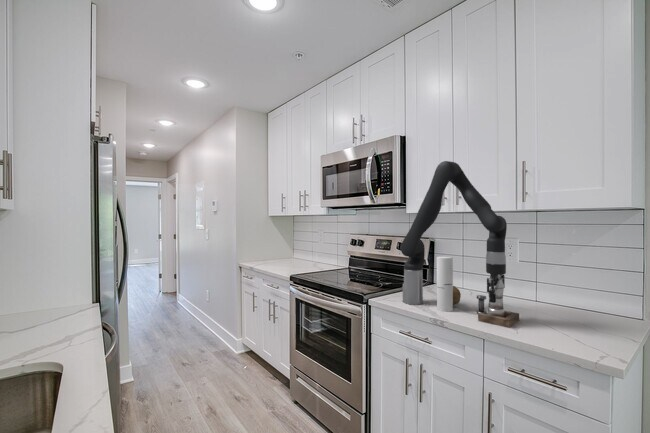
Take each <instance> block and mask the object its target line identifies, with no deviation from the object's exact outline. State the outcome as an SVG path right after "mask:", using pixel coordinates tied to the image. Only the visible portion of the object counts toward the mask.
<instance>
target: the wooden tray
mask: <svg viewBox="0 0 650 433" xmlns="http://www.w3.org/2000/svg"><path fill="white" fill-rule="evenodd" d="M504 312H505V317H504V318H502V317H498V316H493V315H488V313H486V314H483V313H479V314H477V322H482V323H486V324H490V325H494V326H495V325H496V326H498V327H499V326H500V327H504V328H508V329H509V328H511V327H513V326H514V325H515V324H517V323H518V322H519V321H520V313H519V312H515V311H514V312H513V311H508V310H504Z"/></svg>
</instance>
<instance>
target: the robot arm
mask: <svg viewBox="0 0 650 433" xmlns="http://www.w3.org/2000/svg"><path fill="white" fill-rule="evenodd" d="M449 183H451V184H452V185H453V186H454V187H455V188H456V189H457V190H458V191H459V192H460V195H461V196H462V198H463V200H464V202H465V203H466V205H467V206H468V207H469V208H470V209H471V211H472V212H473V213H474V214H475V215H476V216H477V218H478V220H479V221H480V223H481V224H482V225H483V227H484V228H485V229H486V230H487V231H488V232H489V234H488V238H487V239H486V254H485V255H486V256H485V272H486V273H487V274H489V276H490V277H487V278H486V292H487V293H488V292H489V293H490V302H492V303H495V302H496V290H497V289H498V286H499V283H500V280H501V281H502V282H503V284H504V289H505V287H506V286H505V277H506V276H505V275H506V273H507V256H506V236H507V229H508V228H507V227H508V226H507V221H506V219H505V217H503V216H501V215H497V213H496V212H494V210H493V208H492V206H491V204H490V203H489V202H488V201H487V200H486V199H485V197H484V196H483V195H482V194H481V193H480V192H479V191H478V190H477V189H476V187H475V186H474V185H473V184H472V182H470V180H469V178H468V177H467V176H466V174H465V173H464V170H463V169H462V168H461V166H460V164H459V163H457V162H454V161H449V160H445V161H441V162H440V163H439V164H437V166H436V168H435V171H434V174H433V177H432V179H431V183H430V185H429V188H428V189H427V192H426V194H425V195H424V198H423V201H422V203H421V205H420V207H419V209H418V211H417V214H416V216H415V218H414V220H413V222H412V225H411V226H410V228H409V230H408V231H407V233H406V235H405V236H404V238H403V240H402V241H401V245H400V252H401V253H402V255H403V256H405V257H408V259H407V260H406V262H405V263H404V264H403V283H402V303H405V304H407V305H414V306H415V305H416V306H417V305H418V306H419V305H422V304H423V303H424V302H423V301H424V300H423V299H424V291H423V290H424V288H423V287H424V285H423V284H424V282H423V281H424V280H423V279H424V277H423V275H424V274H423V268H424V267H423V266H424V264H425V243H424V242H423V240H422V239H421V238H422V236H423V235H424V234H425V232H427V231H428V229H430V228H431V226H432V225H433V224H434V223H435V222H436V220H437V217H438V216H439V214H440V212H441V209H442V205H443V204H442V203H443V195H444V192H445V190H446V187H447V186H448V184H449ZM498 274H499V275H500V276H501V277H500V279H498ZM494 285H496V286H494ZM491 289H492V290H491ZM489 293H488V294H489Z"/></svg>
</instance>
